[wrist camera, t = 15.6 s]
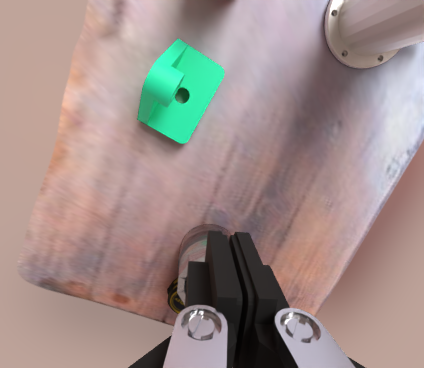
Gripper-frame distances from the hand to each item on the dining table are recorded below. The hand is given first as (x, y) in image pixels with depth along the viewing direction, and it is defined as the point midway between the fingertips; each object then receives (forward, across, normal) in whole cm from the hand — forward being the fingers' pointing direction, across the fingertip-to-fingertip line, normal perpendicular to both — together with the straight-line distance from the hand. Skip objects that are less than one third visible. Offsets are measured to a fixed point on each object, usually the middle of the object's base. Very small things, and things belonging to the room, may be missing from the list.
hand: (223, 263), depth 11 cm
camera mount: (+32, +3, -7) cm, 33 cm away
